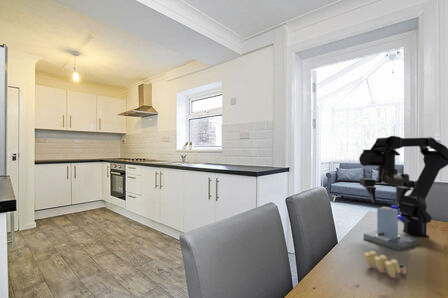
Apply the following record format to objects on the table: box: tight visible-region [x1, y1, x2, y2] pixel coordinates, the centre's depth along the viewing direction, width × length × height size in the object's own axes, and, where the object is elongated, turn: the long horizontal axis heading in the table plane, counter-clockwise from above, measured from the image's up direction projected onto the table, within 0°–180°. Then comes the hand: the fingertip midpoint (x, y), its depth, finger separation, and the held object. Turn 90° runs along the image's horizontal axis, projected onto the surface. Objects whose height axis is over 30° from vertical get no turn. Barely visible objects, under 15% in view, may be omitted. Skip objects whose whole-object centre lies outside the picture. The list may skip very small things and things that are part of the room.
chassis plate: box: [363, 230, 420, 252], centre depth 86 cm, size 14×12×2 cm
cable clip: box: [390, 205, 405, 223], centre depth 115 cm, size 12×4×6 cm, turn 173°
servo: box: [374, 206, 401, 241], centre depth 85 cm, size 10×4×13 cm, turn 116°
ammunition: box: [363, 250, 407, 279], centre depth 64 cm, size 5×7×8 cm
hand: (386, 203), depth 93 cm, fingers open, 9 cm apart
